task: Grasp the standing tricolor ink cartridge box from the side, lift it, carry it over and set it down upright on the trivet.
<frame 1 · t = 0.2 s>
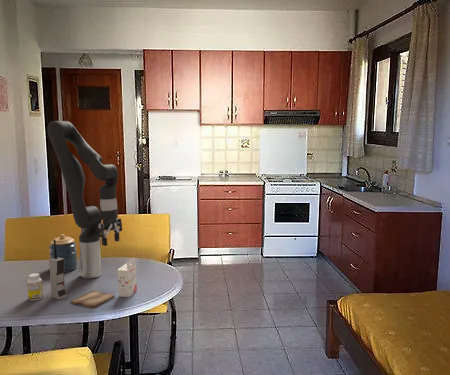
hand: (111, 243, 197), 17 cm above the table, tool pointing down, fingers open, 8 cm apart
trivet: (93, 300, 177), on the table
canister: (64, 268, 216), on the table
ink cartridge box: (127, 293, 184), on the table
vintage mobile phone: (59, 297, 180), on the table
supplement bottle: (35, 298, 179), on the table
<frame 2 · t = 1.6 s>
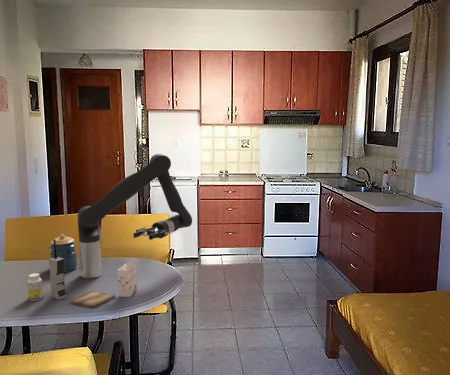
hand: (141, 236, 190), 22 cm above the table, tool horizontal, fingers open, 8 cm apart
nothing on the table moved.
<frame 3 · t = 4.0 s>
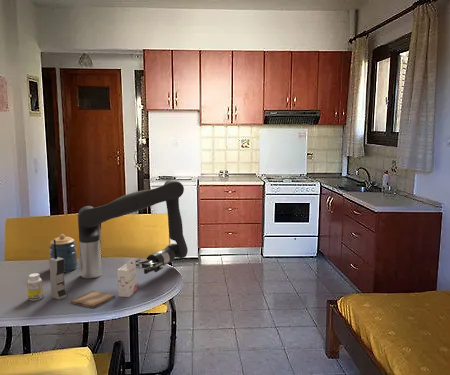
hand: (136, 270, 188), 8 cm above the table, tool horizontal, fingers open, 8 cm apart
nothing on the table moved.
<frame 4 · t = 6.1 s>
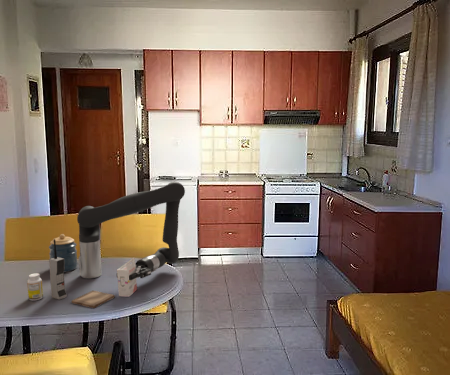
hand: (123, 276, 180), 8 cm above the table, tool horizontal, fingers closed on ink cartridge box, 6 cm apart
ink cartridge box: (127, 293, 184), on the table, touching gripper
everything else where it was.
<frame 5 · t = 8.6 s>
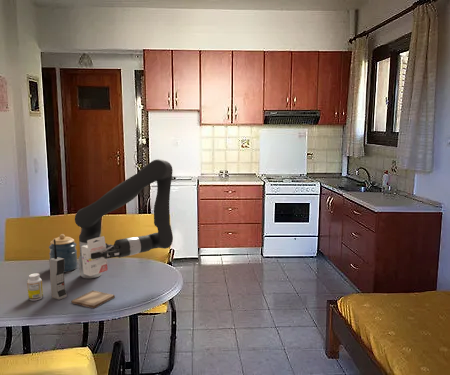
hand: (88, 254, 173), 20 cm above the table, tool horizontal, fingers closed on ink cartridge box, 6 cm apart
ink cartridge box: (95, 272, 175), point 11 cm above the table, touching gripper
everything else where it was.
when the fingers open (10 cm above the table, at t = 11.0 s): ink cartridge box drops 1 cm, resting on trivet.
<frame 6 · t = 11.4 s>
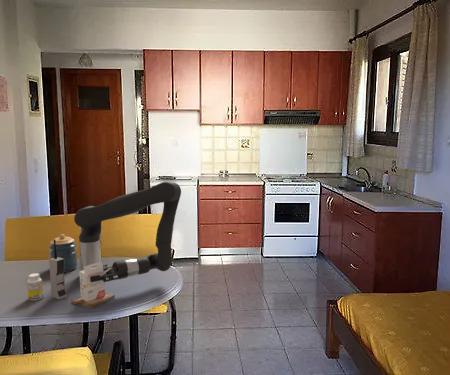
hand: (87, 276, 174), 10 cm above the table, tool horizontal, fingers open, 8 cm apart
ink cartridge box: (93, 297, 177), point 1 cm above the table, touching trivet
everything else where it was.
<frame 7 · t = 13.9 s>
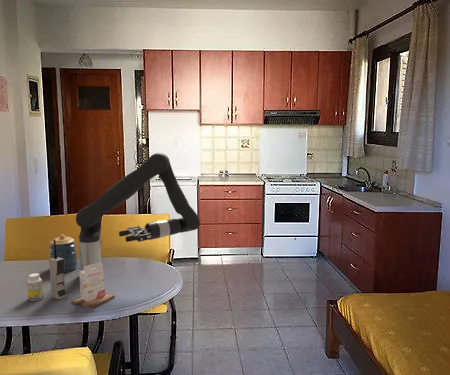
hand: (122, 236, 184), 24 cm above the table, tool horizontal, fingers open, 8 cm apart
nothing on the table moved.
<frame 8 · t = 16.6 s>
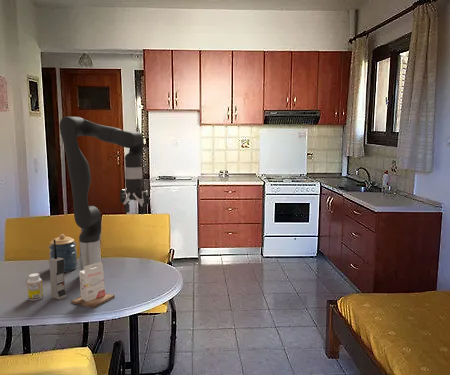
hand: (135, 213, 191), 32 cm above the table, tool pointing down, fingers open, 8 cm apart
nothing on the table moved.
at the end: ink cartridge box 0.4 cm from the trivet (horizontally); ink cartridge box tilted 0°; the gripper is holding nothing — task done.
